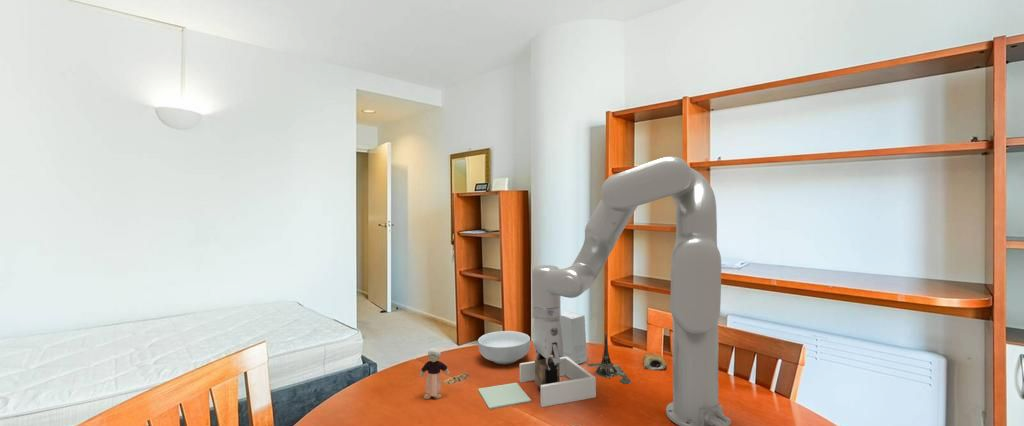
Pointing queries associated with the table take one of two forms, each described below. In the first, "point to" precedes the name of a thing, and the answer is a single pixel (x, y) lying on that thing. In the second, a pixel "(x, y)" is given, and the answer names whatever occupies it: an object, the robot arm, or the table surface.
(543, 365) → the walnut block
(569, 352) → the skincare box
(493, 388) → the sage mat
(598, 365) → the eiffel tower figurine
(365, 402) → the table surface
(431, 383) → the grandmother figurine
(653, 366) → the pastry
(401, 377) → the table surface
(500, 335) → the cereal bowl
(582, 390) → the open side box
